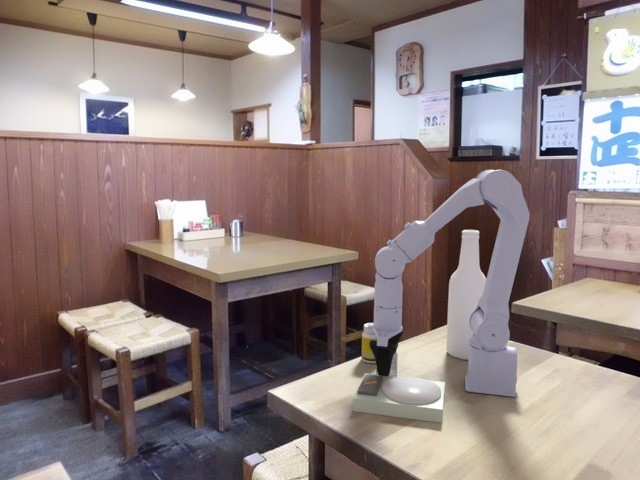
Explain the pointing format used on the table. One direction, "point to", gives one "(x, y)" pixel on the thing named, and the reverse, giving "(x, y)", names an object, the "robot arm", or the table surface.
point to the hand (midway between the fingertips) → (386, 368)
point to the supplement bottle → (366, 338)
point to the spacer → (392, 366)
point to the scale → (400, 397)
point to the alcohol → (464, 295)
